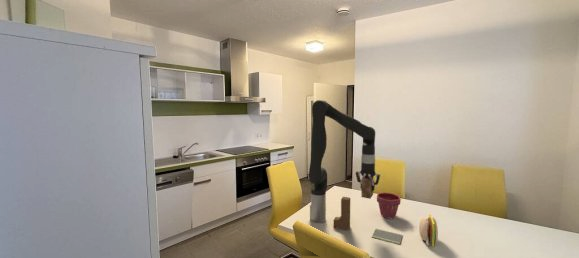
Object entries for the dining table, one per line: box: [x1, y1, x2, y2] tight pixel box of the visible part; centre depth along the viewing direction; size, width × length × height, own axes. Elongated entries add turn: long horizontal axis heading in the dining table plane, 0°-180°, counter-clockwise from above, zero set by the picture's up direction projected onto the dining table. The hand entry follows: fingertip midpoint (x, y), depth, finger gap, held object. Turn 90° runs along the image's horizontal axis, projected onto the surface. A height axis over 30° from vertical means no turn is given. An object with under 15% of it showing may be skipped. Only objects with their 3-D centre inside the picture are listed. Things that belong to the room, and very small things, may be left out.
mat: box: [371, 228, 403, 245], centre depth 131 cm, size 14×10×1 cm
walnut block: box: [360, 177, 374, 200], centre depth 140 cm, size 5×7×11 cm
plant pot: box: [376, 192, 401, 219], centre depth 157 cm, size 14×14×13 cm
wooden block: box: [333, 196, 351, 231], centre depth 142 cm, size 9×4×18 cm, turn 64°
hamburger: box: [418, 213, 439, 247], centre depth 127 cm, size 12×8×12 cm
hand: (367, 190), depth 140 cm, fingers closed on walnut block, 5 cm apart
